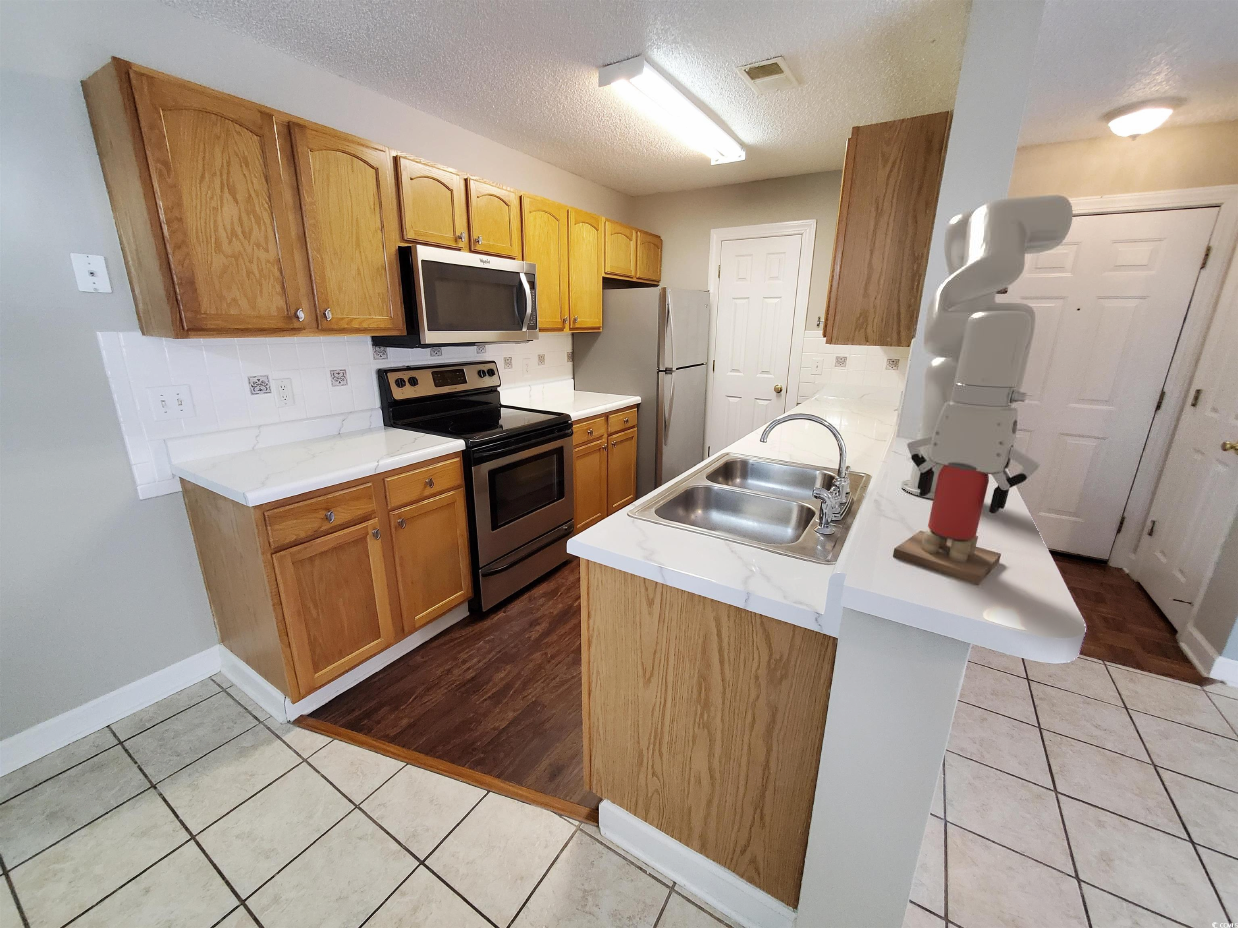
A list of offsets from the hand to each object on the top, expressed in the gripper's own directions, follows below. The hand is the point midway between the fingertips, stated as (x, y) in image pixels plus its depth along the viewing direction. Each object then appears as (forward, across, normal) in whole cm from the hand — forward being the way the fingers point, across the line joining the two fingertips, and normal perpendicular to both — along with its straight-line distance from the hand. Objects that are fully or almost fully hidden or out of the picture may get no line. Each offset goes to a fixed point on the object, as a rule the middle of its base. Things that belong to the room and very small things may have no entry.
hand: (957, 502), depth 78 cm
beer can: (+6, 0, 0) cm, 6 cm away
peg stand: (+10, 0, 0) cm, 10 cm away
